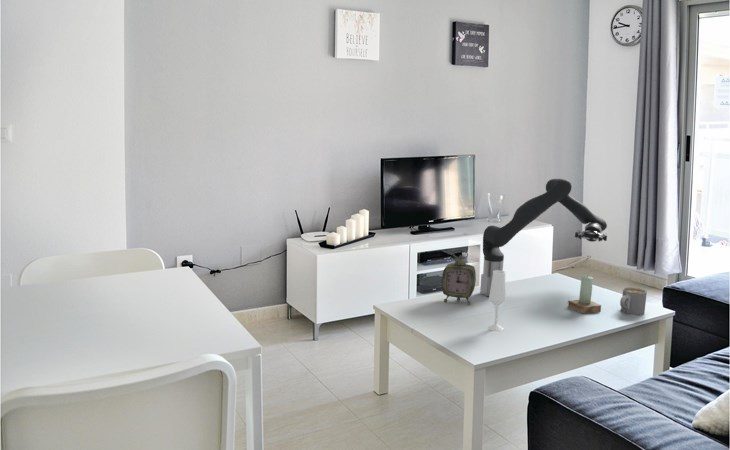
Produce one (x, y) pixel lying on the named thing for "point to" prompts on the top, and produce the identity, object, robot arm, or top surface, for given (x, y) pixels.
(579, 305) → the walnut block
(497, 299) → the champagne flute
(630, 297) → the coffee mug
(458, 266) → the tabletop clock
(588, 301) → the candle
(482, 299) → the top surface
